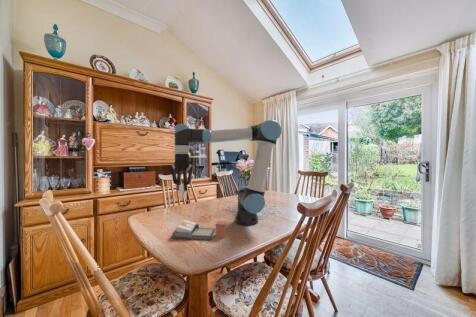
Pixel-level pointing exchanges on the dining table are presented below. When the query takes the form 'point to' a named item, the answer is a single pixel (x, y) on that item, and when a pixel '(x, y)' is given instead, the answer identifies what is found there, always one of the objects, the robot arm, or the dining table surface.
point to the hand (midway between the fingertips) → (182, 196)
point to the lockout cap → (221, 229)
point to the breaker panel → (195, 234)
